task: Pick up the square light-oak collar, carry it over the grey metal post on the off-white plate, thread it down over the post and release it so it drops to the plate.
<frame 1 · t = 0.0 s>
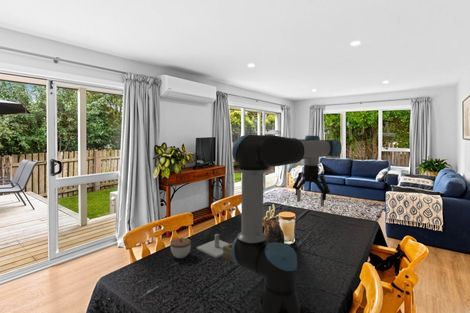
hand: (310, 203, 141), 28 cm above the table, fingers open, 13 cm apart
collar: (233, 257, 139), on the table
post block: (216, 248, 149), on the table
lidded jar: (180, 256, 140), on the table
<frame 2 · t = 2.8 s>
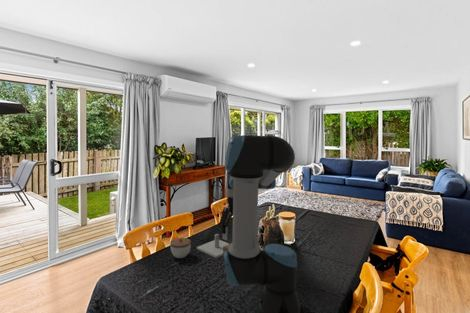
hand: (234, 235, 138), 12 cm above the table, fingers open, 13 cm apart
nothing on the table moved.
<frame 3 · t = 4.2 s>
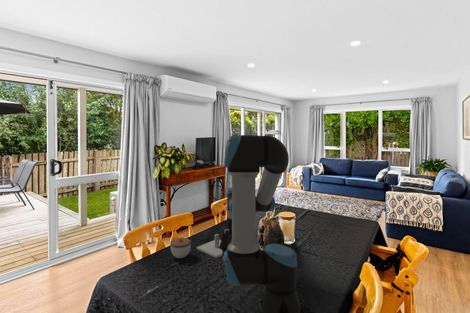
hand: (233, 257, 139), 0 cm above the table, fingers open, 12 cm apart
nothing on the table moved.
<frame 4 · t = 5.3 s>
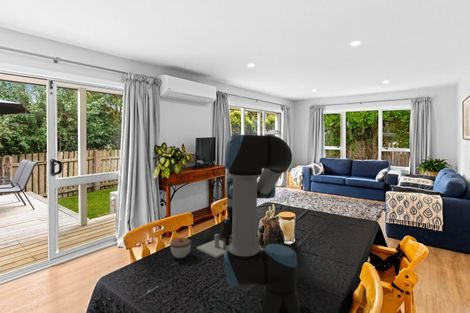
hand: (234, 248, 138), 5 cm above the table, fingers closed on collar, 8 cm apart
collar: (234, 249, 138), point 5 cm above the table, touching gripper
everything else where it was.
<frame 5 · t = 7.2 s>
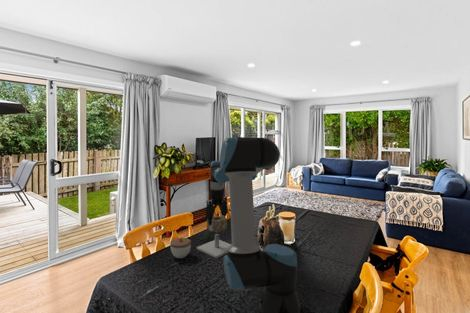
hand: (216, 228, 148), 12 cm above the table, fingers closed on collar, 8 cm apart
collar: (216, 228, 148), point 12 cm above the table, touching gripper
everything else where it was.
when the fingers open (3 cm above the table, at t = 9.1 s): collar drops 2 cm, resting on post block.
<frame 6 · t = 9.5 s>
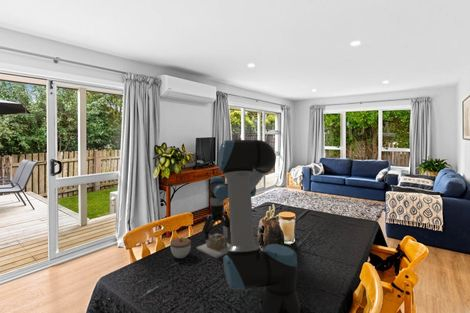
hand: (216, 241, 149), 4 cm above the table, fingers open, 13 cm apart
collar: (216, 246, 149), point 1 cm above the table, touching post block
everything else where it was.
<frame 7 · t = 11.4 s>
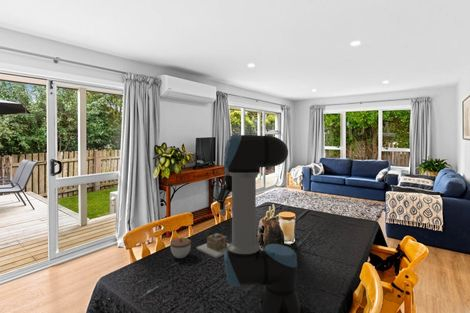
hand: (231, 212, 146), 21 cm above the table, fingers open, 13 cm apart
nothing on the table moved.
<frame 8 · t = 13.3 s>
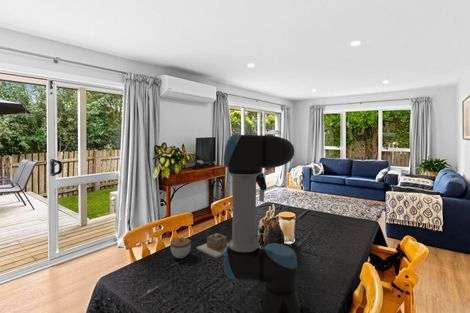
hand: (254, 203, 145), 27 cm above the table, fingers open, 13 cm apart
nothing on the table moved.
at the end: collar 0.0 cm off-centre on the post block, point 1.2 cm above the post block's base; the gripper is holding nothing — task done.
